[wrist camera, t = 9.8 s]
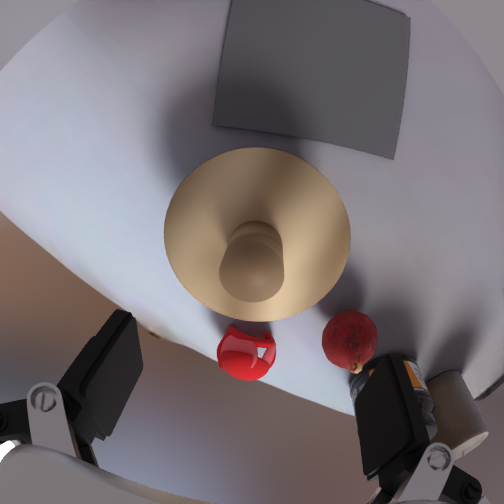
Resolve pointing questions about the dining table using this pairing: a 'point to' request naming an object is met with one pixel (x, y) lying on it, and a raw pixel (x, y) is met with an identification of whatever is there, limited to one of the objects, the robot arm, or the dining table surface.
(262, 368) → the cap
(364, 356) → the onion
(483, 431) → the pillar candle
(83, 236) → the dining table surface
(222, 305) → the lid
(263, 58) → the mat
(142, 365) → the robot arm
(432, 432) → the supplement container
